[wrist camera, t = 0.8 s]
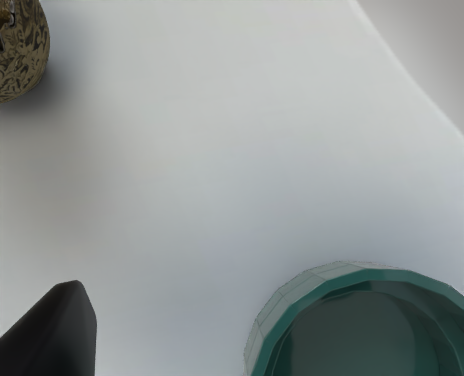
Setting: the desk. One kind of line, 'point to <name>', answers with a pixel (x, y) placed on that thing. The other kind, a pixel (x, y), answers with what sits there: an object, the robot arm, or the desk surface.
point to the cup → (22, 47)
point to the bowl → (358, 325)
